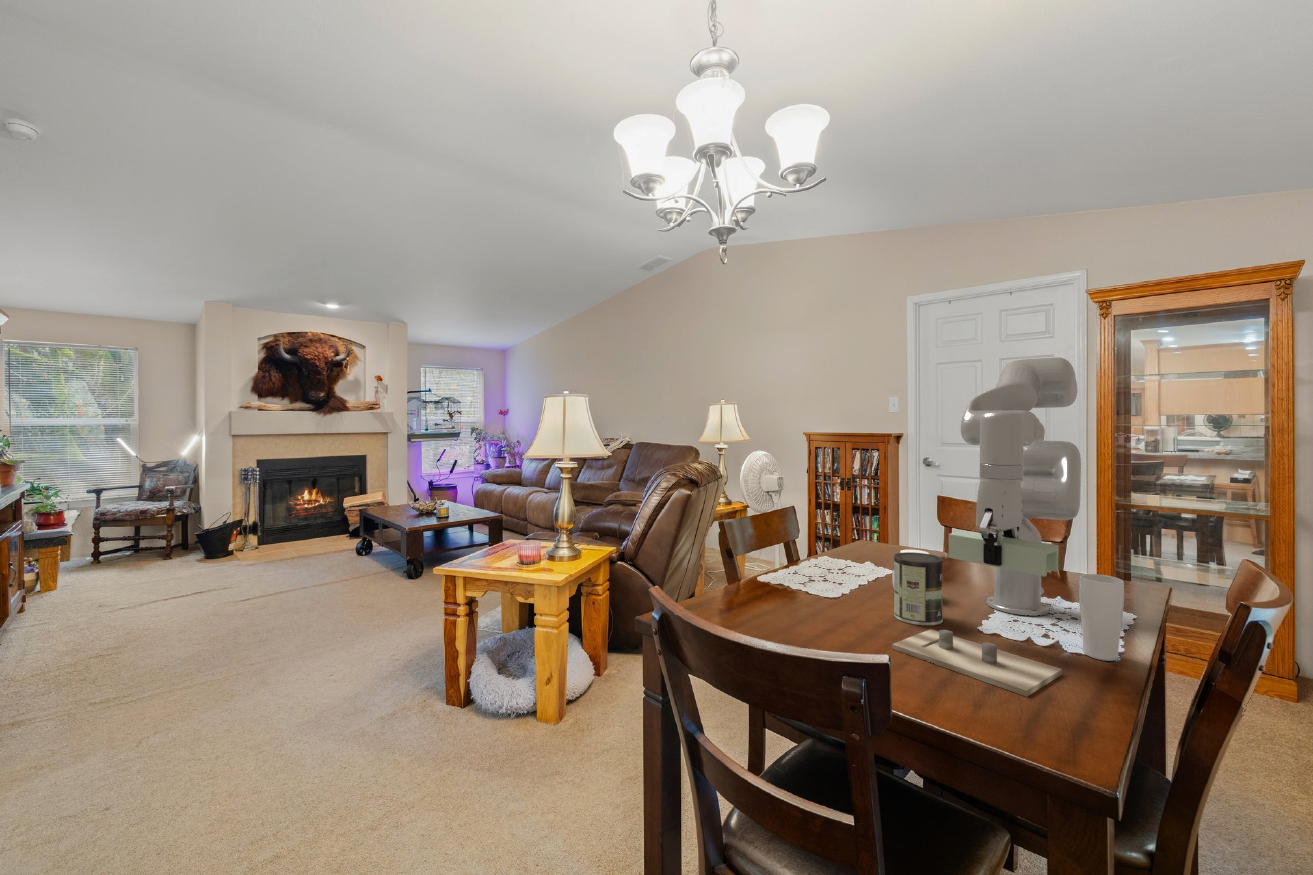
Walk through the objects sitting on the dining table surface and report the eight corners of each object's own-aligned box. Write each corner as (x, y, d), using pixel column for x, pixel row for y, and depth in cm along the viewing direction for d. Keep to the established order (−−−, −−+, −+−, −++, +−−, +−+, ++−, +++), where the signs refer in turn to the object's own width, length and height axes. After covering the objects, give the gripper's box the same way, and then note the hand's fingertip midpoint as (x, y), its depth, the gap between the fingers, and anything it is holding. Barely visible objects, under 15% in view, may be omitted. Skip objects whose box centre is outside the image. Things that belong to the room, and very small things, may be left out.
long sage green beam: (962, 553, 123) (963, 530, 123) (1058, 571, 108) (1058, 545, 108) (948, 557, 120) (948, 534, 119) (1044, 576, 105) (1045, 549, 105)
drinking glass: (1113, 651, 110) (1114, 575, 109) (1130, 665, 103) (1131, 584, 103) (1072, 647, 112) (1073, 572, 112) (1086, 660, 106) (1087, 581, 105)
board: (930, 633, 120) (930, 614, 120) (1061, 674, 100) (1062, 652, 100) (892, 648, 112) (892, 628, 112) (1026, 696, 92) (1026, 672, 92)
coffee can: (935, 611, 133) (935, 552, 133) (948, 627, 123) (949, 563, 123) (889, 609, 136) (889, 551, 135) (898, 624, 125) (898, 561, 125)
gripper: (1001, 468, 121) (1000, 551, 122) (960, 474, 111) (959, 564, 112) (1040, 471, 115) (1040, 558, 116) (1000, 477, 105) (1000, 573, 106)
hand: (1000, 560), depth 114 cm, fingers closed on long sage green beam, 6 cm apart
